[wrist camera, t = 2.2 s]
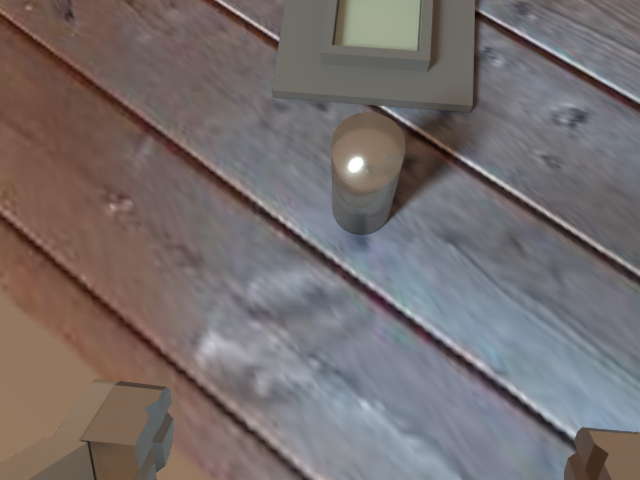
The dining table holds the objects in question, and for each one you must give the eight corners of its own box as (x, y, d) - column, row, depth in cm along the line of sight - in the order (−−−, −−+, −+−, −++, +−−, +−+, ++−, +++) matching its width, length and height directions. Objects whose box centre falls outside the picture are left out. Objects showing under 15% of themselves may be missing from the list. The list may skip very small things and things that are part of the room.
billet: (392, 183, 43) (407, 115, 33) (388, 237, 41) (403, 182, 32) (335, 178, 43) (335, 109, 34) (329, 232, 42) (327, 175, 32)
